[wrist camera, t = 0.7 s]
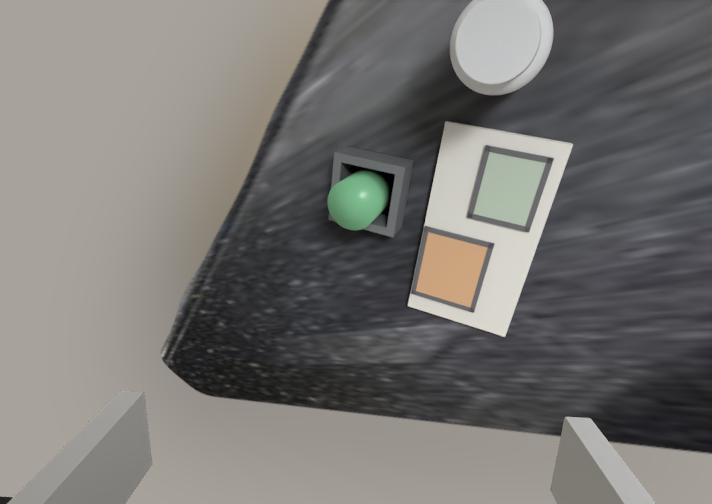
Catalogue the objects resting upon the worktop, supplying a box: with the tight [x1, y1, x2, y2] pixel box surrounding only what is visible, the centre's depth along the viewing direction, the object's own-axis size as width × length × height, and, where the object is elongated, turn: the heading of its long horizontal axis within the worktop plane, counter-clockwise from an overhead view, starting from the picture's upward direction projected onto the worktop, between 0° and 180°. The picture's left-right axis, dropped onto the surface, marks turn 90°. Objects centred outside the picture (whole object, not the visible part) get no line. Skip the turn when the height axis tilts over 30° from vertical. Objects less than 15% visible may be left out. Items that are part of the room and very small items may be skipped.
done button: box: [327, 169, 390, 230], centre depth 33 cm, size 4×4×4 cm
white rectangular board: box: [408, 121, 573, 337], centre depth 34 cm, size 17×9×1 cm, turn 173°
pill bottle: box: [450, 0, 553, 95], centre depth 24 cm, size 6×5×10 cm
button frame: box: [328, 146, 414, 237], centre depth 35 cm, size 6×6×3 cm
